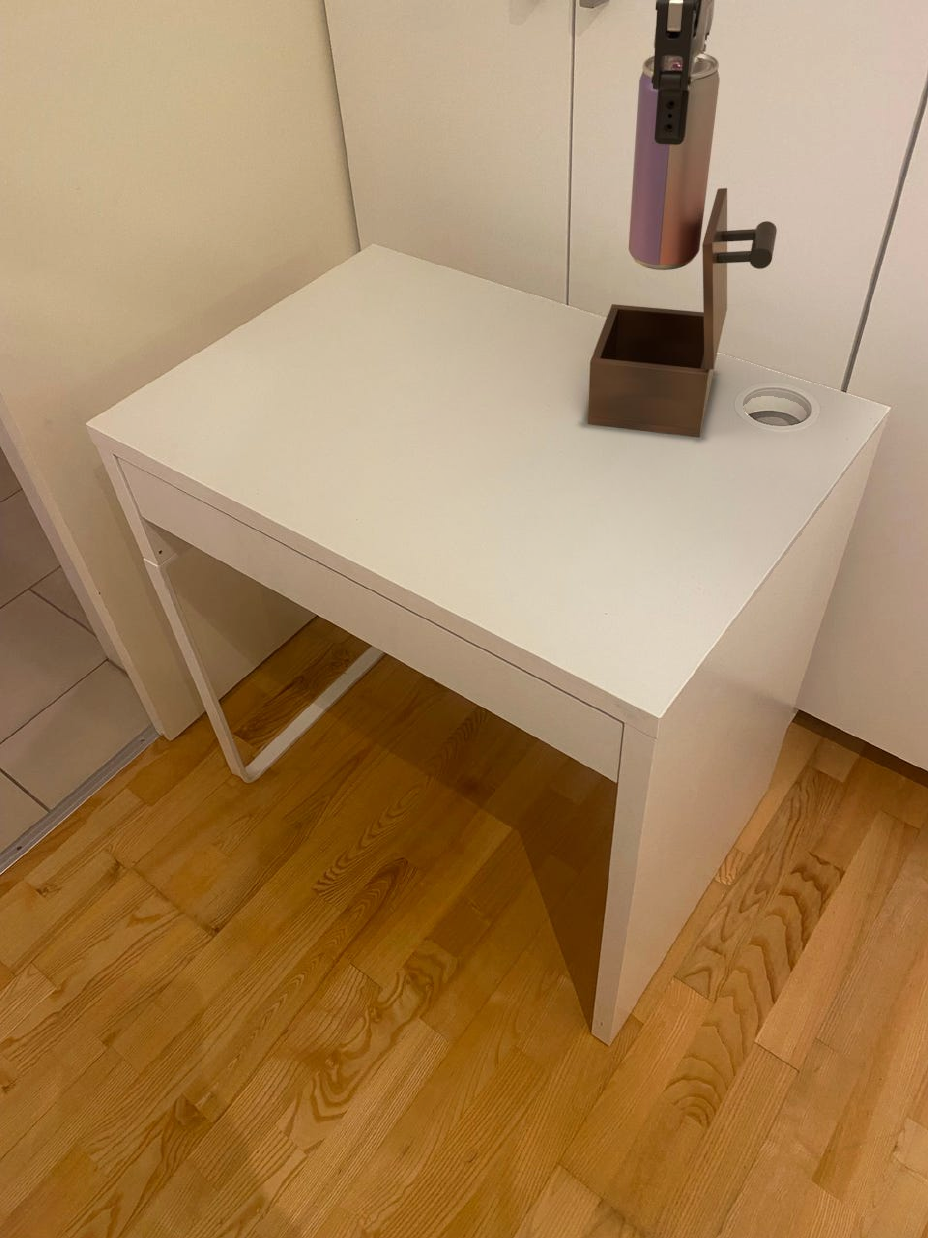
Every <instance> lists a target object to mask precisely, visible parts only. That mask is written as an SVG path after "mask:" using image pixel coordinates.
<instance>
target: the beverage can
mask: <svg viewBox="0 0 928 1238" xmlns="http://www.w3.org/2000/svg"><path fill="white" fill-rule="evenodd" d="M642 63H643V64H642V71H641V74H640V76H639V80H638V93H637V107H636V110H637V111H636V125H635V126H636V127H635V139H634V141H635V142H634V155H633V156H634V157H633V173H632V186H631V187H632V188H631V203H630V219H629V234H628V252H629V254H630V256H631V258H632V259H633V260H634V262H635V263H637V265H639V266H642V267H644V268H647V269H651V270H655V271H656V270H657V271H669V270H677V269H681V268H683V267H686V266H687V265H689V264H690V263H692V261H694V259H695V258H696V257H697V256H698V254H699V252H700V248H701V240H702V232H703V223H704V214H705V206H706V198H707V189H708V182H709V181H708V180H709V172H710V165H711V164H710V163H711V158H712V157H711V156H712V147H713V146H712V145H713V138H714V130H715V124H716V123H715V121H716V114H717V105H718V97H719V91H720V82H721V81H720V75H719V67H720V62H719V60H718V59H717V58H716V57H715V56H712V55H710V54H708V53H705V52H704V53H701V54H699V55H698V56H696V58H695V61H694V68H693V76H692V78H694V80H693V86H691V89H690V92H689V102H688V112H687V122H686V132H685V137H684V140H683V142H682V143H681V144H679V145H669V144H658V143H657V142H656V141H655V125H656V112H657V99H658V90H656V89H653V84H652V83H651V82H652V75H653V72H654V55H652V56H650V57H648V58H646V59H645V60H644V61H643V62H642ZM682 63H683V59H682V57H681V56H668V59H667V66H666V70H680V71H682Z"/></svg>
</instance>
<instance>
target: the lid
mask: <svg viewBox="0 0 928 1238" xmlns="http://www.w3.org/2000/svg"><path fill="white" fill-rule="evenodd" d="M711 209H712V210H711V212H710V216H709V219H708V222H707V226H706V230H705V233H704V237H703V241H702V245H701V246H702V248H701V249H702V250H701V251H702V294H703V295H702V298H703V300H702V305H703V307H702V308H703V309H702V310H703V312H704V366H705V369H714V370H715V365H716V361H717V356H718V353H719V352H718V351H719V347H720V343H721V337H722V333H723V329H724V326H725V325H724V324H725V320H726V316H727V311H728V264H736V263H738V264H739V263H740V264H741V263H750V265H751V266H752V267H753V268H754V269H757V270H763V269H765V268H767V267H769V266H770V265H771V263H772V261H773V256H774V250H775V244H776V239H777V233H778V232H777V231H778V229H777V226H776V224H775V223H774V222H772V221H767V220H766V221H761V222H760V223H758V225H756V227H755V228H751V229H736V230H735V229H734V230H728V188H727V187H723V188H722V187H721V188H717V191H716V194H715V197H714V201H713V205H712V208H711ZM744 241H752V242H751V247H750V250H741V251H740V250H739V251H728V242H744Z"/></svg>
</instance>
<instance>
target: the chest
mask: <svg viewBox="0 0 928 1238" xmlns="http://www.w3.org/2000/svg"><path fill="white" fill-rule="evenodd" d="M592 353H593V354H592V356H591V359H590V361H589V378H588V379H589V383H588V406H587V408H588V409H587V410H588V411H587V424H588V425H593V426H602V427H603V426H604V427H611V428H618V429H626V430H627V429H628V430H634V431H635V430H636V431H644V432H653V433H662V434H669V435H670V434H671V435H678V436H685V437H686V436H687V437H693V438H700V437H701V433H702V428H703V423H704V420H705V414H706V410H707V405H708V401H709V397H710V392H711V387H712V383H713V378H714V373H715V368H714V369H705V366H704V311H695V310H693V311H692V310H683V309H671V308H670V309H669V308H661V307H659V308H658V307H648V306H638V305H626V304H615V303H614V304H613V303H612V304H611V306H610V308H609V311H608V313H607V316H606V319H605V322H604V324H603V327H602V329H601V332H600V335H599V337H598V340H597V343H596V345H595V348H594V350H593V352H592Z"/></svg>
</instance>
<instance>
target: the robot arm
mask: <svg viewBox="0 0 928 1238" xmlns="http://www.w3.org/2000/svg"><path fill="white" fill-rule="evenodd" d="M655 11H656V22H655V30H654V38H653V39H654V40H653V47H654V54H653V56H654V72H653V75H652V82H651V83H652V84H653V89H656V90H658V99H657V112H656V125H655V141H656V142H657V143H658V144H669V145H679V144H681V143H682V142H683V140H684V137H685V132H686V122H687V112H688V102H689V92H690V89H691V86H693V80H694V78H692V76H693V68H694V61H695V58H696V56H698V55H699V54H701V53H704V54H705V52H706V51H707V43H706V42H707V40H708V36H710V32H711V30H712V26H713V20H714V15H715V12H714V11H715V0H655ZM668 56H681V57H682V59H683V63H682V71H680V70H666V66H667V59H668Z"/></svg>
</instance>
